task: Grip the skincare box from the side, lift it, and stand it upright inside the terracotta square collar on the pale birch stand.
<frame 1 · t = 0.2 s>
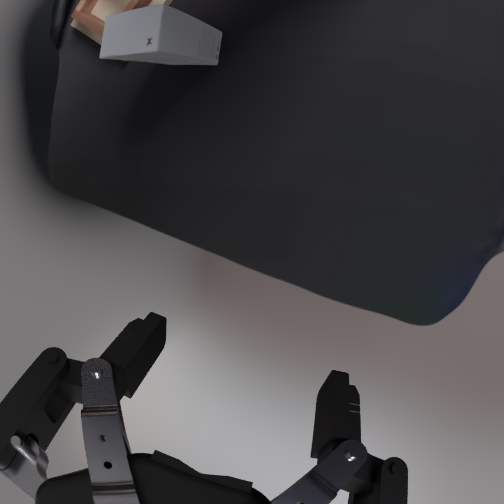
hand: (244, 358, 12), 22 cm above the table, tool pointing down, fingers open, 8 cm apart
skincare box: (196, 48, 25), on the table
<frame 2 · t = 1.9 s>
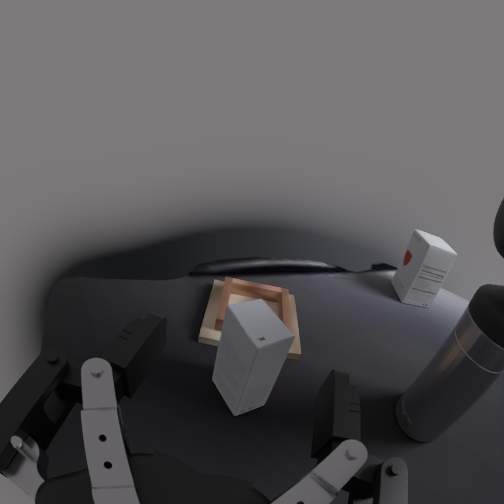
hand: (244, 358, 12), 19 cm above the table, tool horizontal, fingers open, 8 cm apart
supplement box: (409, 296, 61), on the table
skincare box: (237, 393, 31), on the table
serum stand: (251, 319, 43), on the table
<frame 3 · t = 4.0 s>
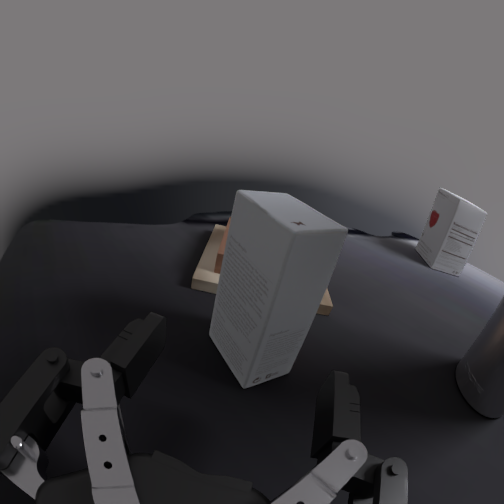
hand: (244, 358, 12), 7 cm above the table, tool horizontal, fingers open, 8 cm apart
supplement box: (436, 264, 51), on the table
skincare box: (246, 355, 21), on the table
serum stand: (262, 267, 34), on the table
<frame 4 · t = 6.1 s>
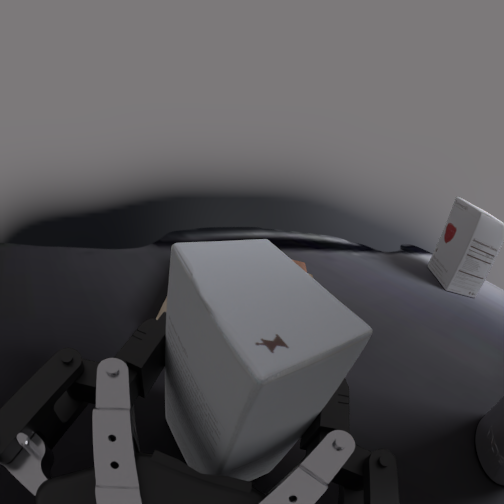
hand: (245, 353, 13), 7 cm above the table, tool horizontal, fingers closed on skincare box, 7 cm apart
supplement box: (450, 283, 44), on the table
skincare box: (214, 447, 14), on the table, touching gripper
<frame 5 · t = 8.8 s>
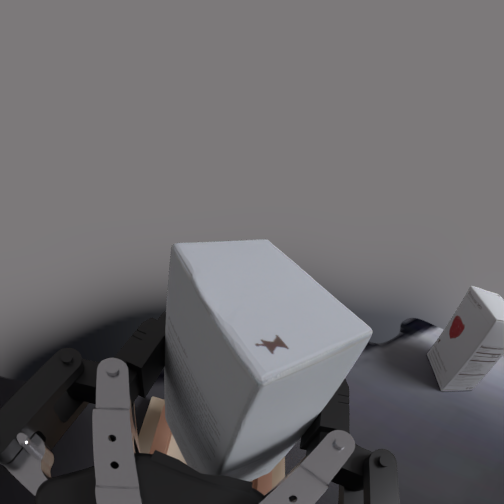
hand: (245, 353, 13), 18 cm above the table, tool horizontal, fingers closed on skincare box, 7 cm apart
supplement box: (449, 373, 37), on the table
skincare box: (214, 447, 14), point 11 cm above the table, touching gripper
serum stand: (207, 474, 20), on the table
when the fingers open (9 cm above the table, at t = 11.5 s): skincare box drops 1 cm, resting on serum stand.
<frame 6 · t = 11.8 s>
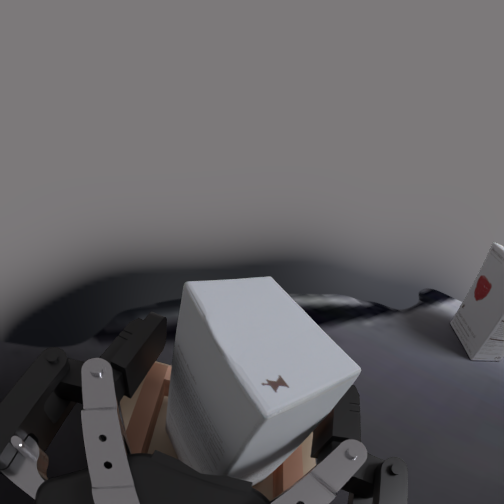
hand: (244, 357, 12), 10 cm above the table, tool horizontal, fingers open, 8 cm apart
supplement box: (474, 343, 32), on the table
skincare box: (210, 457, 14), point 1 cm above the table, touching serum stand
serum stand: (210, 461, 15), on the table
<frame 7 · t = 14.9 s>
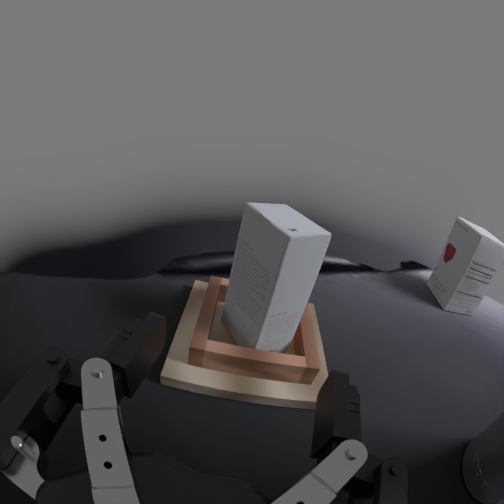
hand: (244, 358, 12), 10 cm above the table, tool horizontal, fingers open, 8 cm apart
supplement box: (448, 301, 44), on the table
skincare box: (252, 337, 26), point 1 cm above the table, touching serum stand
serum stand: (250, 343, 27), on the table
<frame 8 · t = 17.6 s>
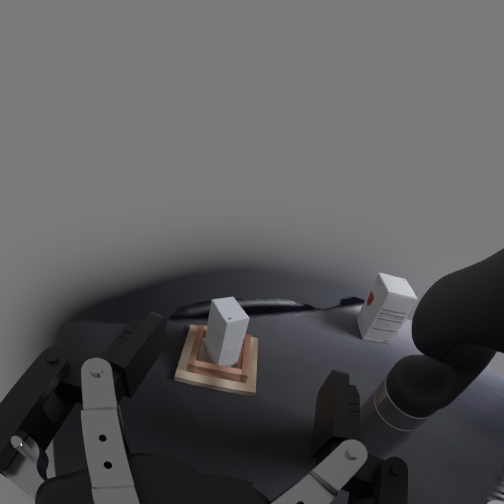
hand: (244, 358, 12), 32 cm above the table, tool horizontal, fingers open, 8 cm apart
supplement box: (372, 331, 68), on the table
skincare box: (219, 357, 50), point 1 cm above the table, touching serum stand
serum stand: (219, 360, 51), on the table
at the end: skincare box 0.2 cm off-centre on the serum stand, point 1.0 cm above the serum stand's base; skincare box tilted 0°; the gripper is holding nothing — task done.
